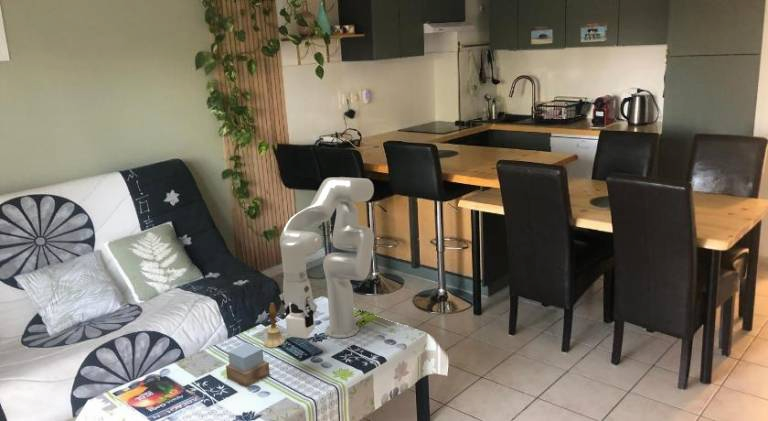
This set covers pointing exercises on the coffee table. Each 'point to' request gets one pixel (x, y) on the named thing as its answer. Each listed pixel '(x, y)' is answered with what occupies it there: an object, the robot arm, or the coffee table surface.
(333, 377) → the coffee table surface
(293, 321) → the medicine bottle
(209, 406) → the coffee table surface
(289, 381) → the coffee table surface
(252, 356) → the block top
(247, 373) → the block base
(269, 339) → the hand bell
